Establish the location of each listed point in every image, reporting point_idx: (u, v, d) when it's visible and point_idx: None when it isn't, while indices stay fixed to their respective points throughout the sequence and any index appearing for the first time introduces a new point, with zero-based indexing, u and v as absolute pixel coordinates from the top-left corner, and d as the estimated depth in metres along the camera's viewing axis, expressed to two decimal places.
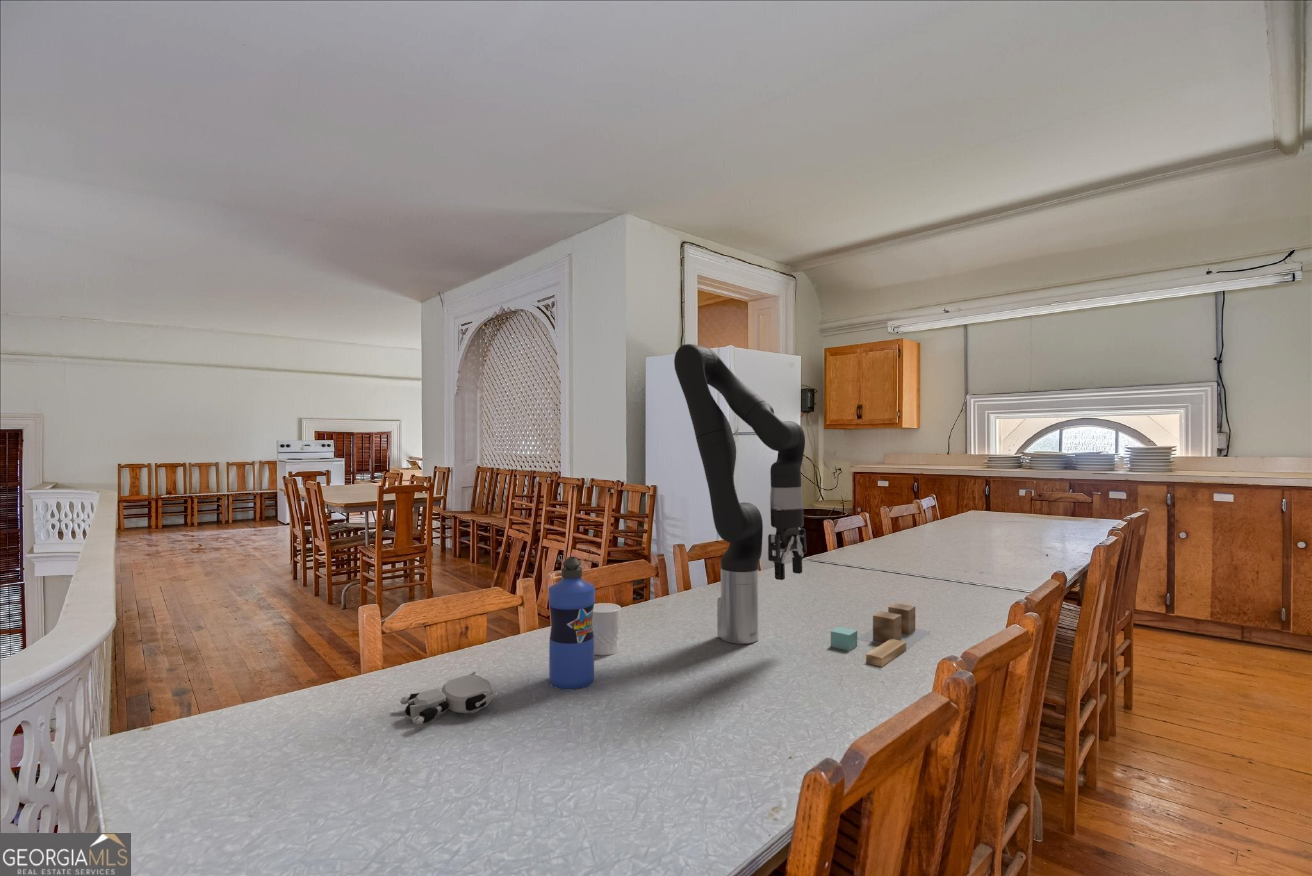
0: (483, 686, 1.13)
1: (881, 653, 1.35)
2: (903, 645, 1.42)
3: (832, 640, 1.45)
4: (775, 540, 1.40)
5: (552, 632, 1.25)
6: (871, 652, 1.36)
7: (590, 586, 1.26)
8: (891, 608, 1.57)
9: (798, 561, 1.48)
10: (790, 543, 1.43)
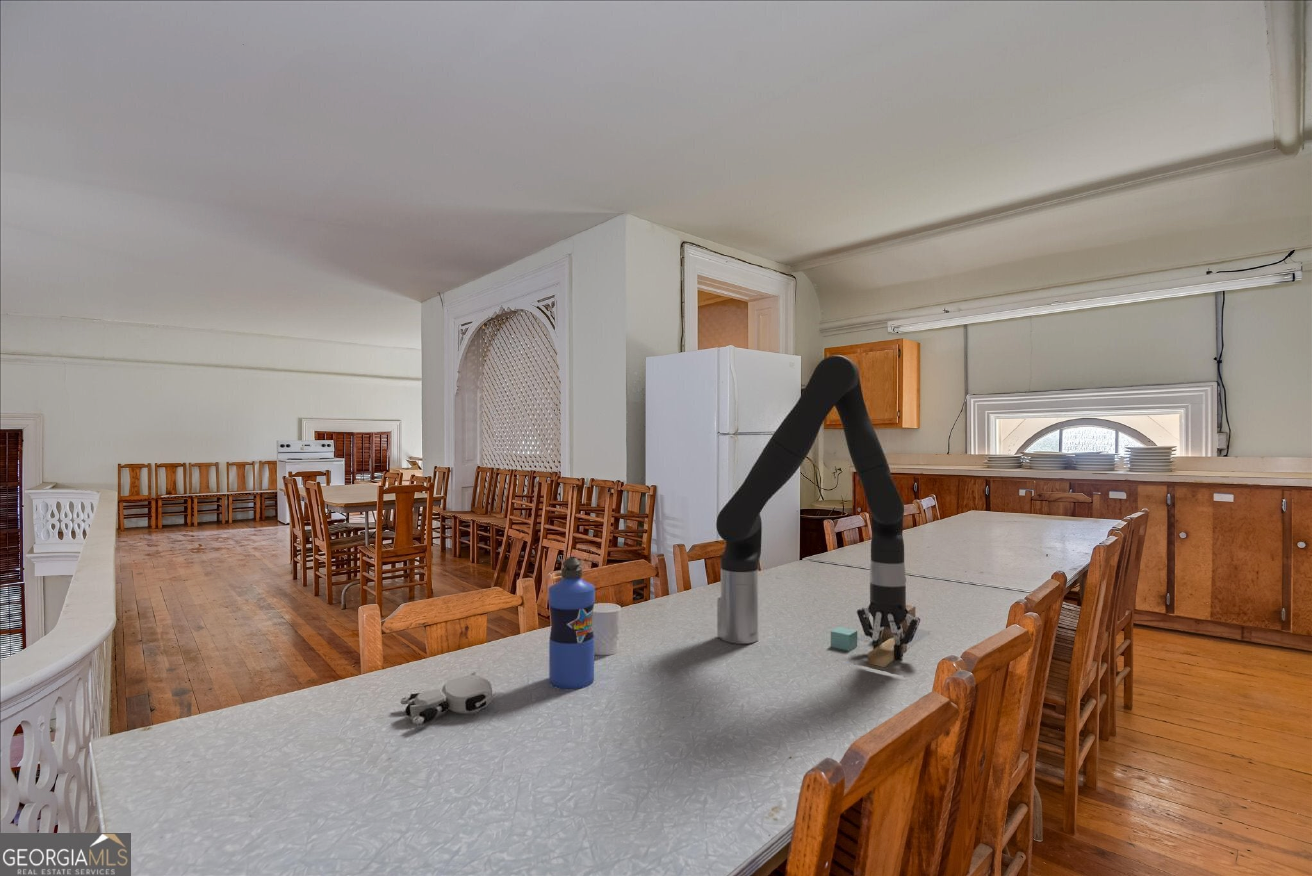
0: (483, 686, 1.13)
1: (882, 652, 1.35)
2: None
3: (832, 640, 1.45)
4: (918, 624, 1.35)
5: (552, 632, 1.24)
6: (873, 650, 1.36)
7: (590, 586, 1.26)
8: None
9: (881, 643, 1.40)
10: None
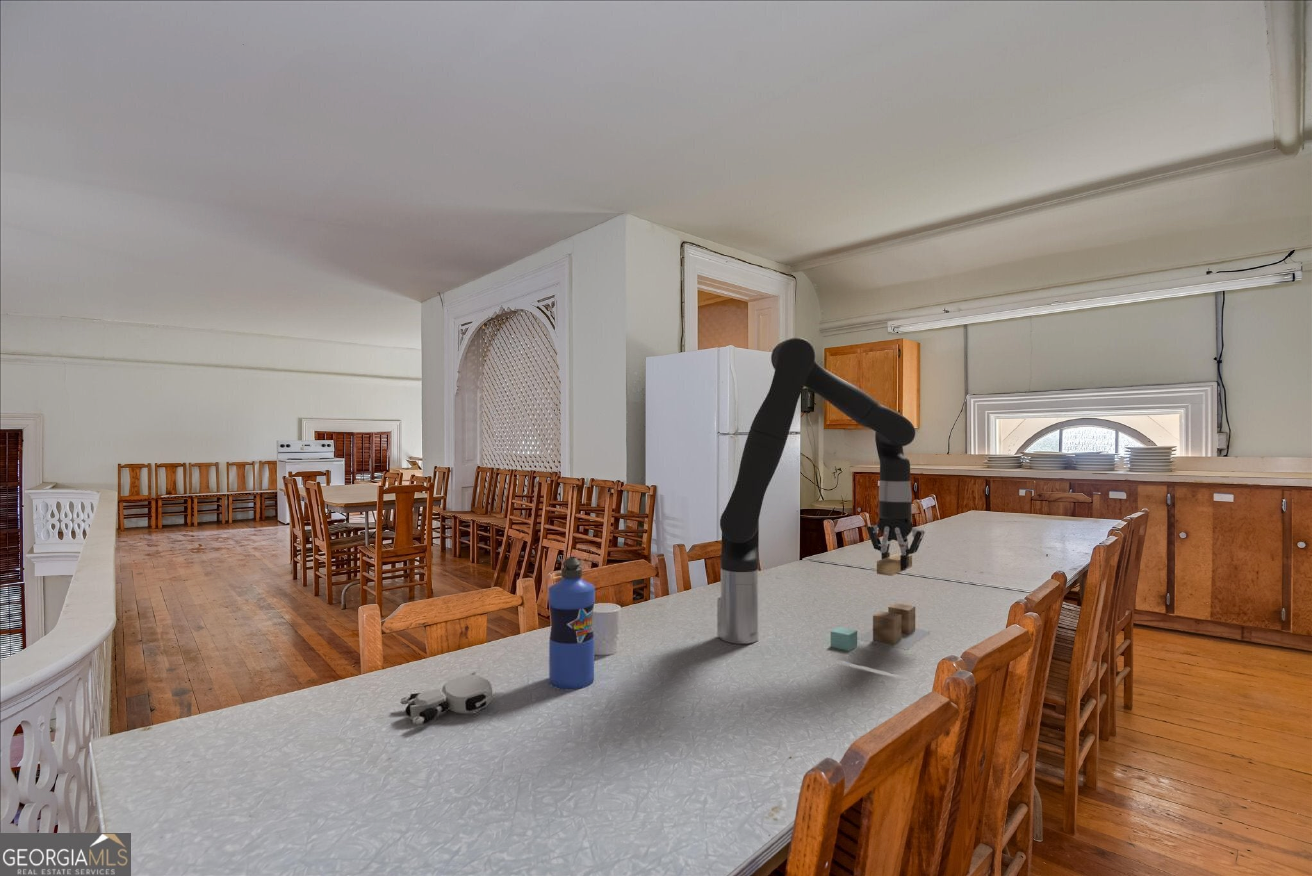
0: (483, 686, 1.13)
1: (890, 560, 1.50)
2: (909, 556, 1.56)
3: (832, 640, 1.45)
4: (922, 536, 1.50)
5: (552, 632, 1.25)
6: (881, 560, 1.51)
7: (590, 586, 1.26)
8: (891, 608, 1.57)
9: (888, 556, 1.55)
10: None
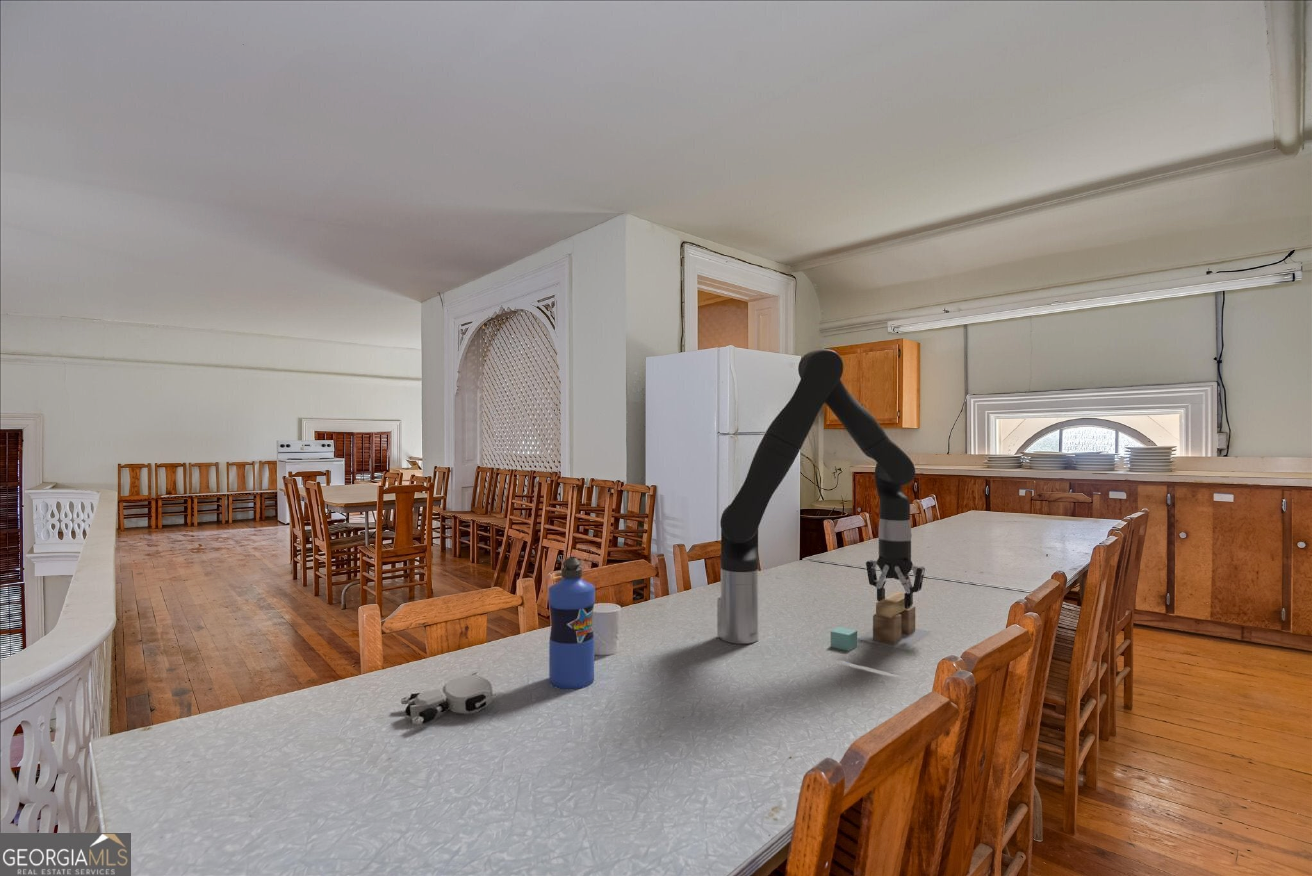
0: (483, 687, 1.13)
1: (889, 602, 1.50)
2: None
3: (832, 640, 1.45)
4: (923, 572, 1.50)
5: (552, 632, 1.24)
6: (880, 601, 1.51)
7: (590, 586, 1.26)
8: None
9: (884, 591, 1.56)
10: None
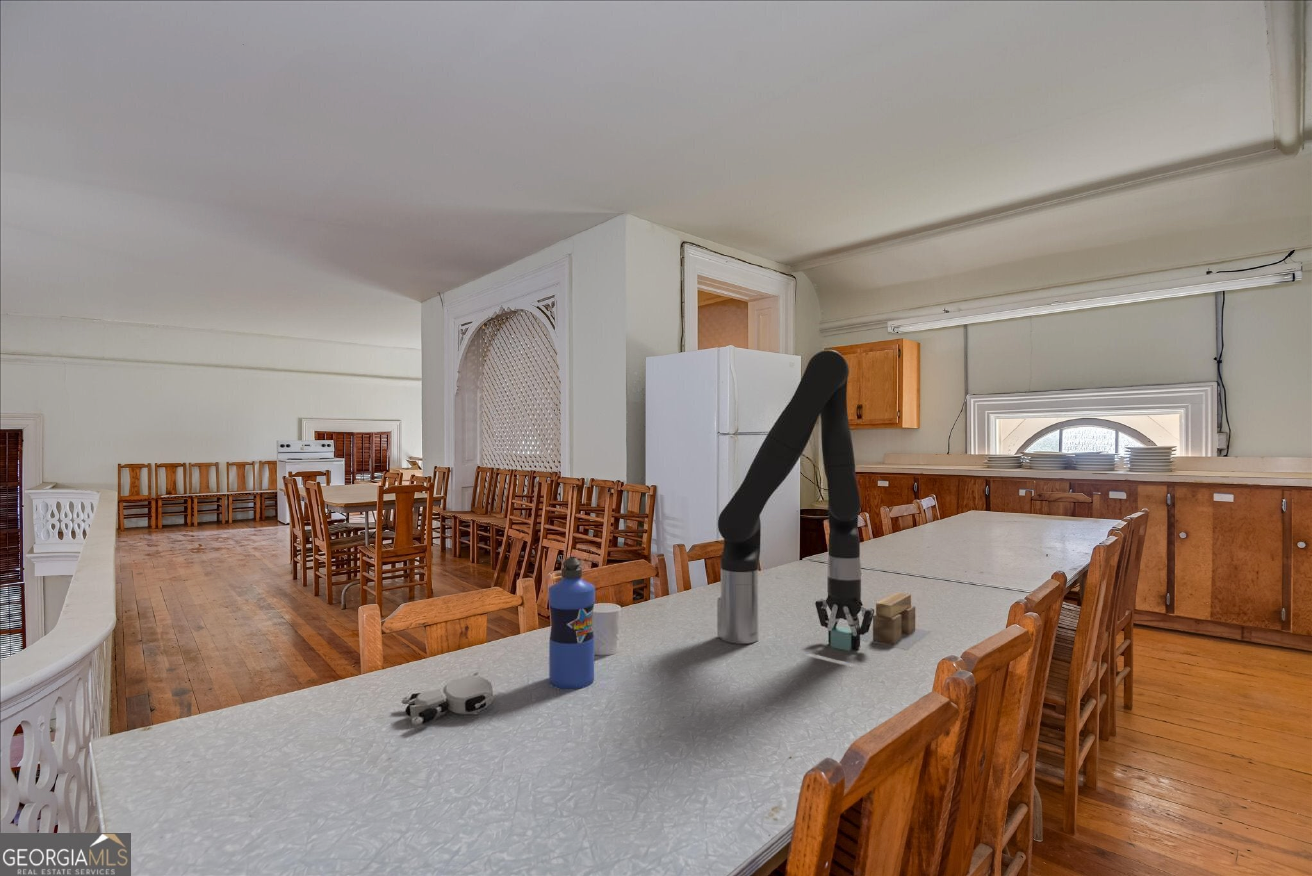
0: (483, 687, 1.13)
1: (889, 602, 1.50)
2: (908, 596, 1.57)
3: (832, 640, 1.45)
4: (872, 615, 1.42)
5: (552, 632, 1.25)
6: (880, 601, 1.51)
7: (590, 586, 1.26)
8: None
9: None
10: None
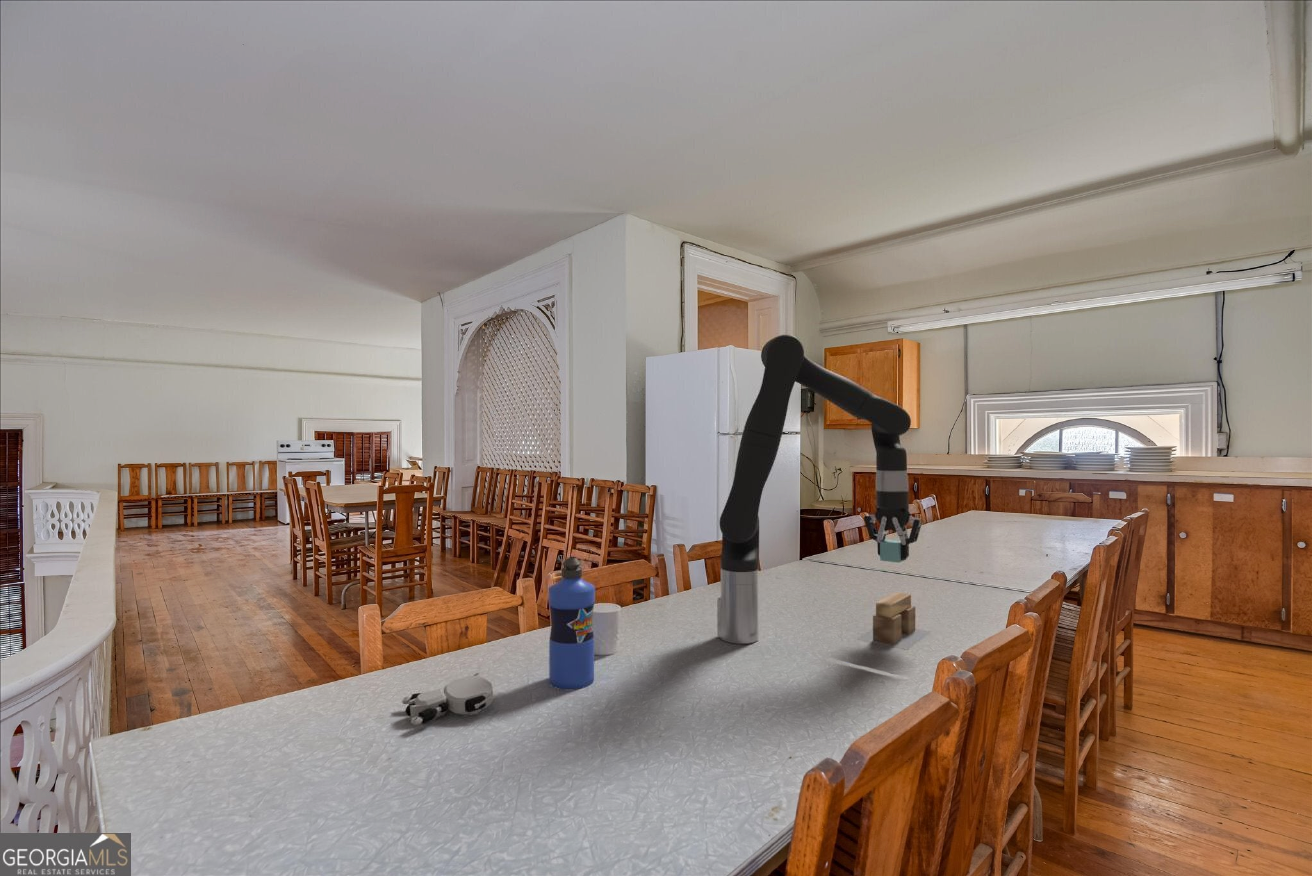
0: (484, 688, 1.12)
1: (889, 602, 1.50)
2: (908, 596, 1.57)
3: (881, 550, 1.52)
4: (920, 524, 1.49)
5: (552, 632, 1.25)
6: (880, 601, 1.51)
7: (590, 586, 1.26)
8: None
9: None
10: None
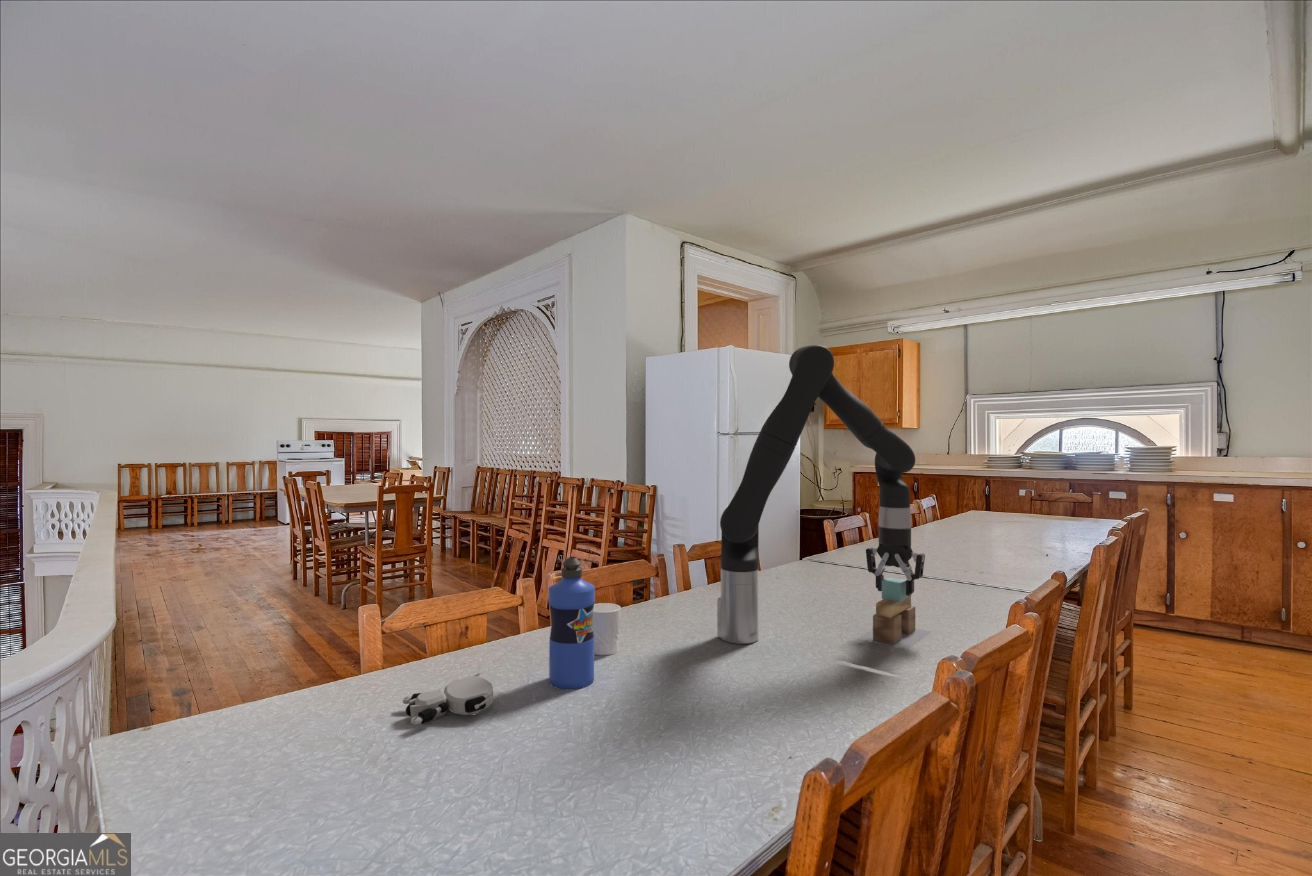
0: (484, 688, 1.12)
1: (889, 602, 1.50)
2: (908, 596, 1.57)
3: (883, 589, 1.53)
4: (923, 559, 1.50)
5: (552, 632, 1.25)
6: (881, 601, 1.51)
7: (590, 586, 1.26)
8: None
9: (882, 578, 1.56)
10: None
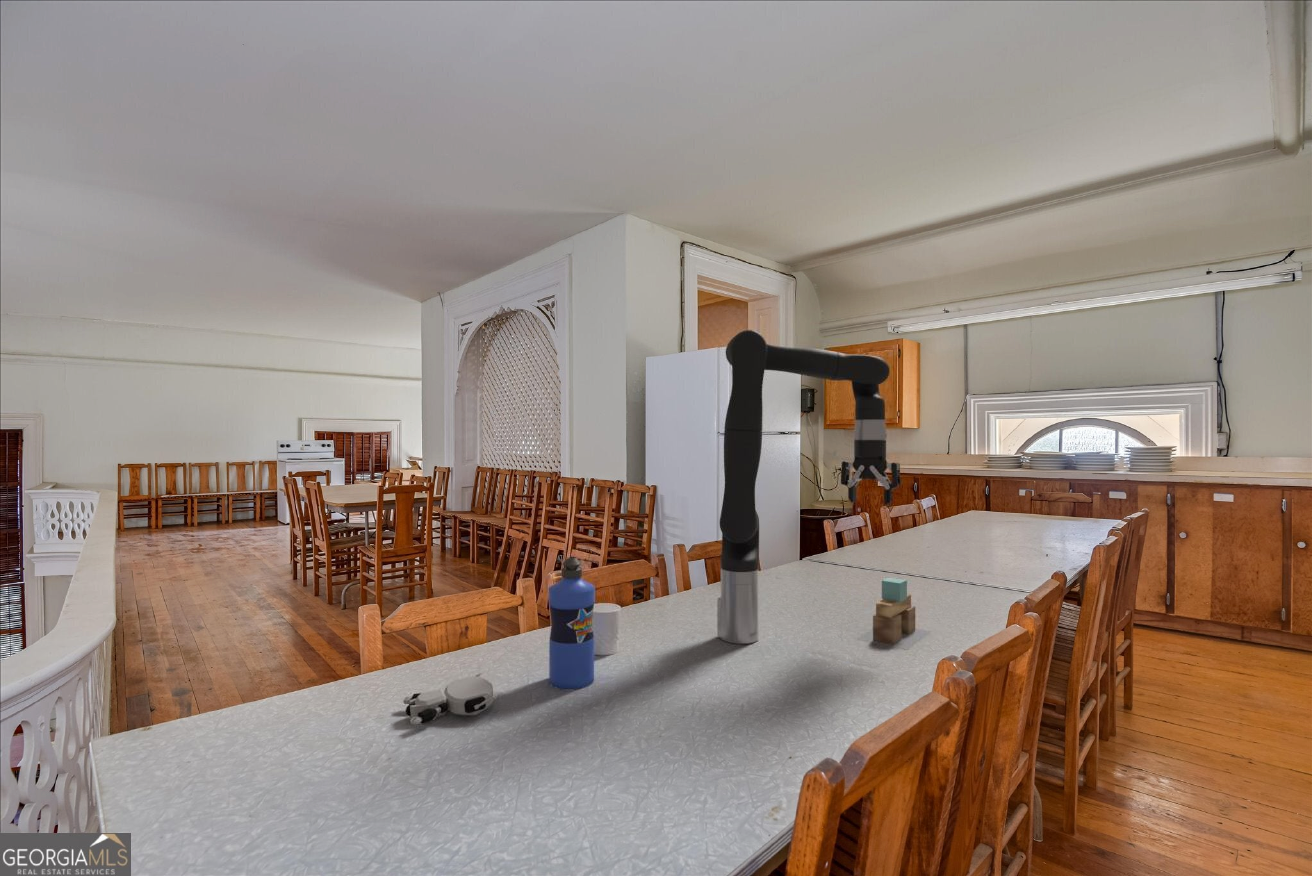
0: (484, 689, 1.12)
1: (889, 602, 1.50)
2: (908, 596, 1.57)
3: (883, 589, 1.53)
4: (899, 467, 1.51)
5: (552, 632, 1.25)
6: (881, 601, 1.51)
7: (590, 586, 1.26)
8: None
9: (855, 490, 1.58)
10: None
